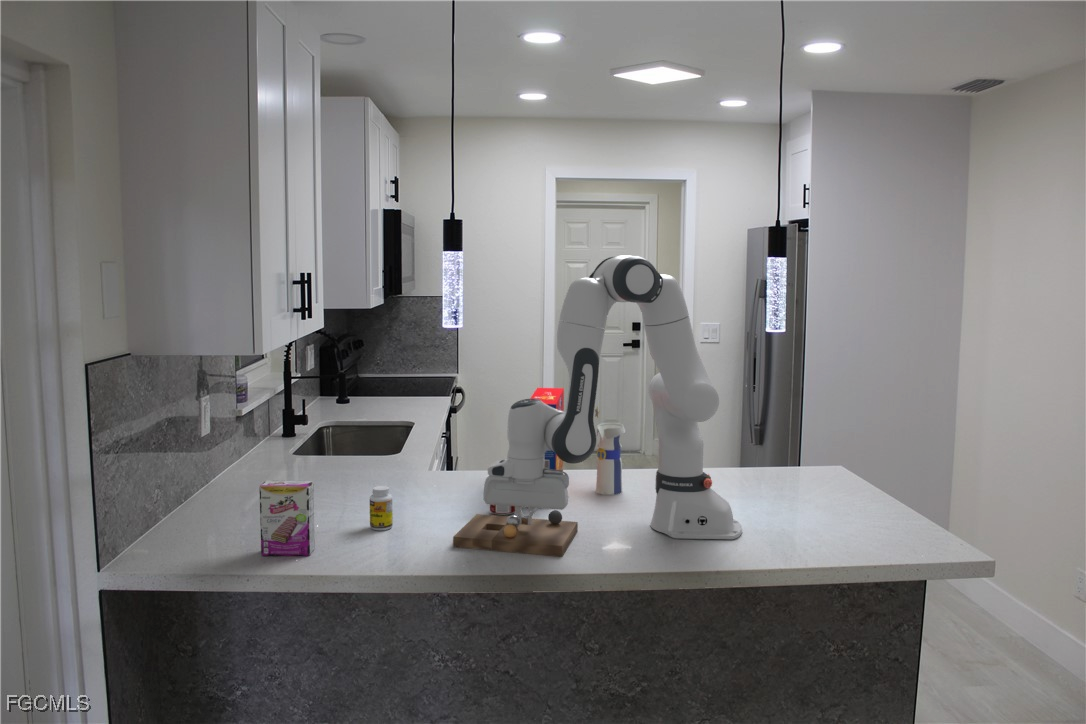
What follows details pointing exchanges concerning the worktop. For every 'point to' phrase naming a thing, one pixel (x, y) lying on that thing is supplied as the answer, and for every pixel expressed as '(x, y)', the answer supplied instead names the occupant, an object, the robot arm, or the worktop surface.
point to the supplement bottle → (381, 509)
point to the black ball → (555, 517)
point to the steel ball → (513, 521)
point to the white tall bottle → (609, 458)
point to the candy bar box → (287, 518)
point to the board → (516, 536)
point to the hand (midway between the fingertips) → (525, 524)
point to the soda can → (502, 510)
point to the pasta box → (556, 400)
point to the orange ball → (510, 531)
